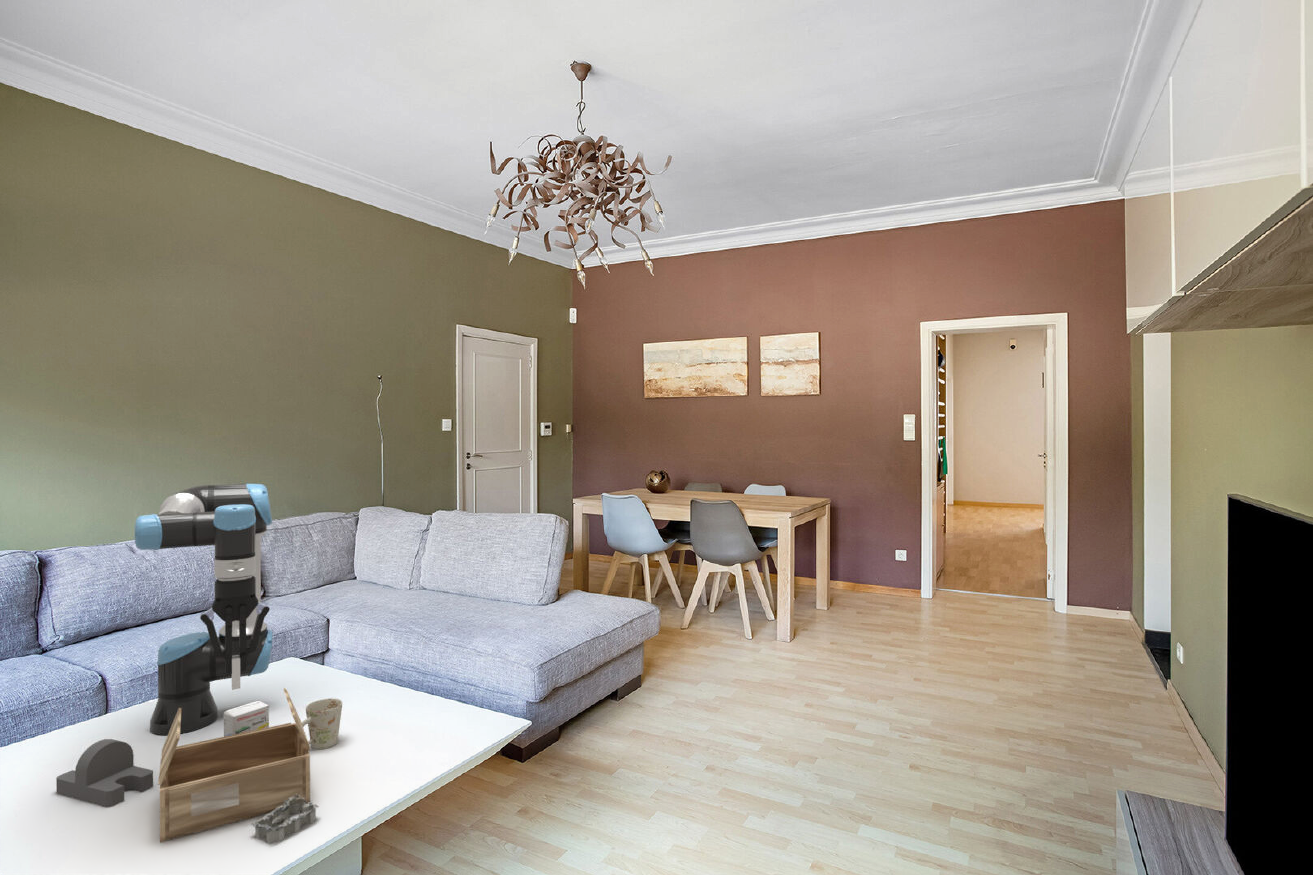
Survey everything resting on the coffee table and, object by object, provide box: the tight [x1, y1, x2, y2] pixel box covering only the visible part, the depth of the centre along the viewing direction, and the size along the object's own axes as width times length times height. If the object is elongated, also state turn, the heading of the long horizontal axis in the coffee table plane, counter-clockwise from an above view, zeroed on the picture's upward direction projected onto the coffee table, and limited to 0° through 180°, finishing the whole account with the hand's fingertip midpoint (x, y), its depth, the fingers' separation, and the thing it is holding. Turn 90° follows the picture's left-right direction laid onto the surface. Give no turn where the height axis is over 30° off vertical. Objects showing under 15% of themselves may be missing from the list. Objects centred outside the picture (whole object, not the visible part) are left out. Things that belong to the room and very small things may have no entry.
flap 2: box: [283, 687, 312, 752], centre depth 154 cm, size 18×9×1 cm
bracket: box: [55, 738, 154, 808], centre depth 152 cm, size 10×18×11 cm, turn 70°
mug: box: [301, 698, 343, 750], centre depth 172 cm, size 8×13×10 cm, turn 161°
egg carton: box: [251, 793, 320, 844], centre depth 137 cm, size 11×8×4 cm
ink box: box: [223, 700, 270, 737], centre depth 168 cm, size 8×5×12 cm, turn 147°
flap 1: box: [157, 708, 182, 786], centre depth 141 cm, size 18×9×1 cm
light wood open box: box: [159, 722, 311, 843], centre depth 148 cm, size 22×26×10 cm
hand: (236, 687), depth 147 cm, fingers closed
